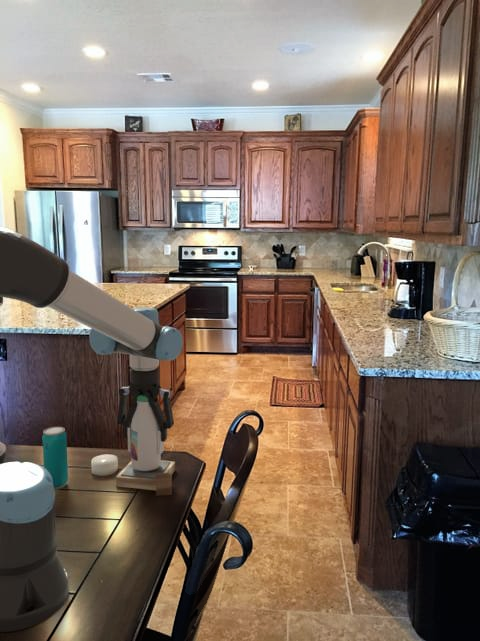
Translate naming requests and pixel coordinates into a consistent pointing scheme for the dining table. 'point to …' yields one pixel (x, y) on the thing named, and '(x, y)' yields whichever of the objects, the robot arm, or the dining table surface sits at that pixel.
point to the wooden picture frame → (142, 476)
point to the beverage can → (56, 455)
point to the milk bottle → (144, 437)
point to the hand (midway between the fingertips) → (146, 450)
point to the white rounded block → (104, 465)
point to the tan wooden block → (163, 484)
